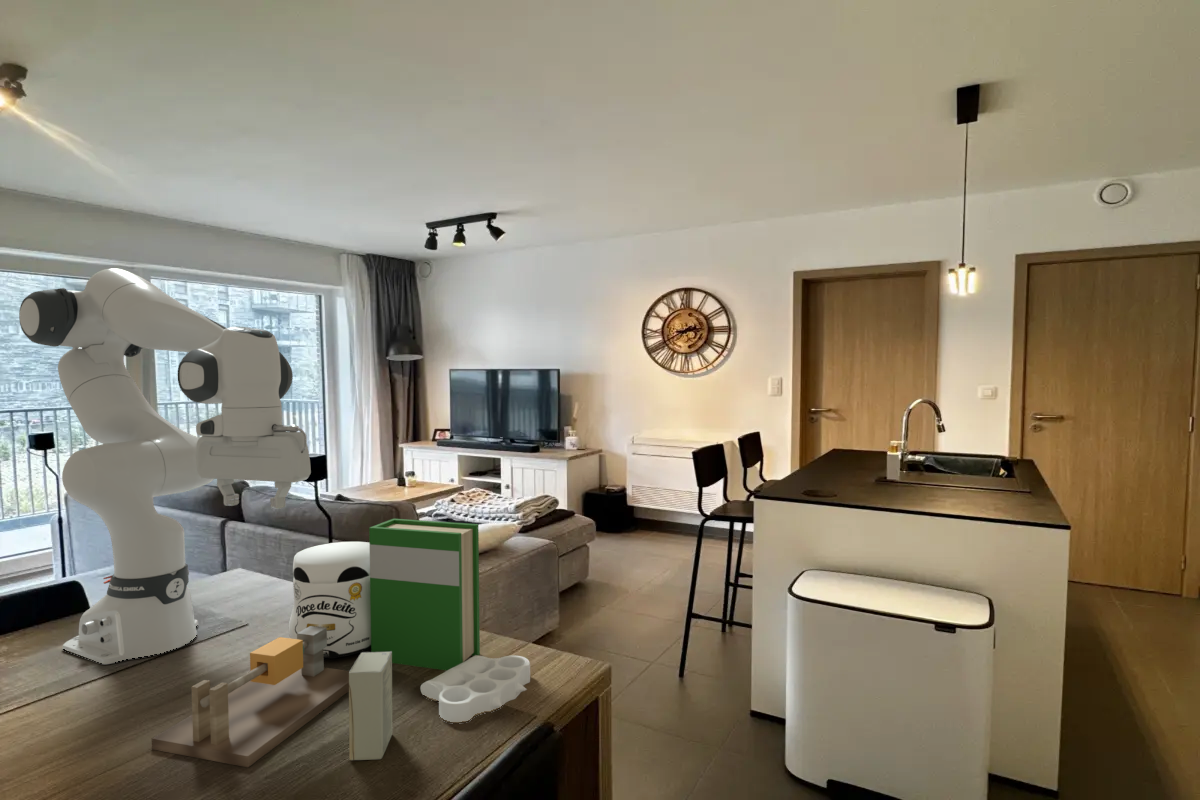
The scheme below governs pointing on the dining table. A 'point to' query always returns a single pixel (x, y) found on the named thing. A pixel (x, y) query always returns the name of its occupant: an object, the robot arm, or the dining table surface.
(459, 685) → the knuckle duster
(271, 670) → the marker sleeve
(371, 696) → the skincare box
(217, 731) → the board
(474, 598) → the hardback book
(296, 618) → the milk container
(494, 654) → the dining table surface
